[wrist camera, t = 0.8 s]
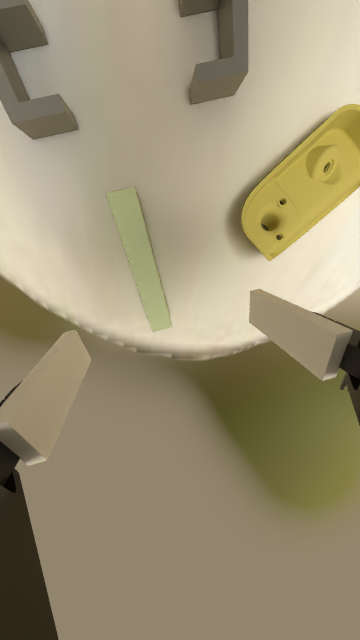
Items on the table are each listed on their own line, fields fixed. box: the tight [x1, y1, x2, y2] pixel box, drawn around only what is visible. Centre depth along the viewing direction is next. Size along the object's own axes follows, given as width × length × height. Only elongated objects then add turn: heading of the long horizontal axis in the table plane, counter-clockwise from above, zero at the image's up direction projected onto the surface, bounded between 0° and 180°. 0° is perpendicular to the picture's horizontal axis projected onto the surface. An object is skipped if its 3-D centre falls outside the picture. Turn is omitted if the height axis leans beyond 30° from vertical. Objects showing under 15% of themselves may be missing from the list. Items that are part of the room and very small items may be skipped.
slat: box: [105, 187, 172, 332], centre depth 27 cm, size 20×4×5 cm, turn 12°
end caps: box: [0, 0, 248, 139], centre depth 17 cm, size 25×7×4 cm, turn 102°
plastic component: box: [241, 104, 360, 261], centre depth 26 cm, size 20×7×10 cm
